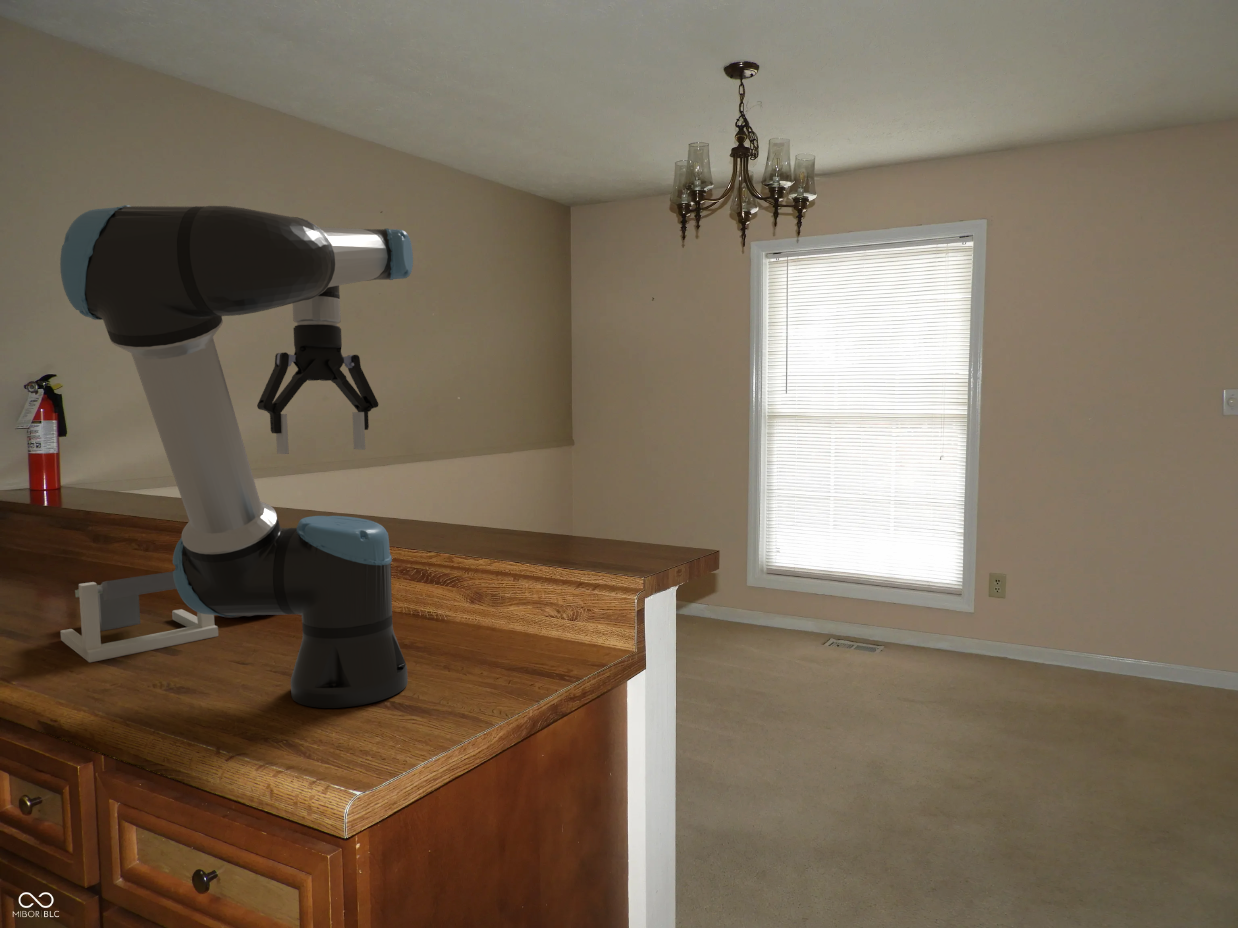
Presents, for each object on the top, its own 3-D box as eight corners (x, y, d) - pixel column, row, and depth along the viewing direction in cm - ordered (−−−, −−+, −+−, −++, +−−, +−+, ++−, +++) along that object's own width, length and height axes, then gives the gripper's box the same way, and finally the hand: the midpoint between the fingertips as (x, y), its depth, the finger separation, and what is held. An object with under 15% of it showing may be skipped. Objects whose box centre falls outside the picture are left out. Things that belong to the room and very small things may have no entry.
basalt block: (127, 580, 151) (130, 618, 152) (90, 586, 147) (92, 624, 148) (138, 585, 147) (140, 623, 148) (99, 591, 143) (102, 631, 143)
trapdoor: (202, 584, 136) (199, 567, 136) (105, 599, 126) (102, 581, 126) (167, 590, 149) (165, 574, 149) (76, 605, 139) (74, 588, 139)
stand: (218, 635, 139) (214, 568, 138) (89, 662, 126) (84, 587, 125) (182, 617, 151) (178, 555, 150) (61, 640, 138) (56, 571, 137)
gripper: (373, 330, 150) (377, 446, 151) (231, 322, 132) (238, 454, 134) (395, 327, 144) (399, 448, 146) (250, 318, 127) (257, 456, 128)
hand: (322, 451), depth 140 cm, fingers open, 13 cm apart
